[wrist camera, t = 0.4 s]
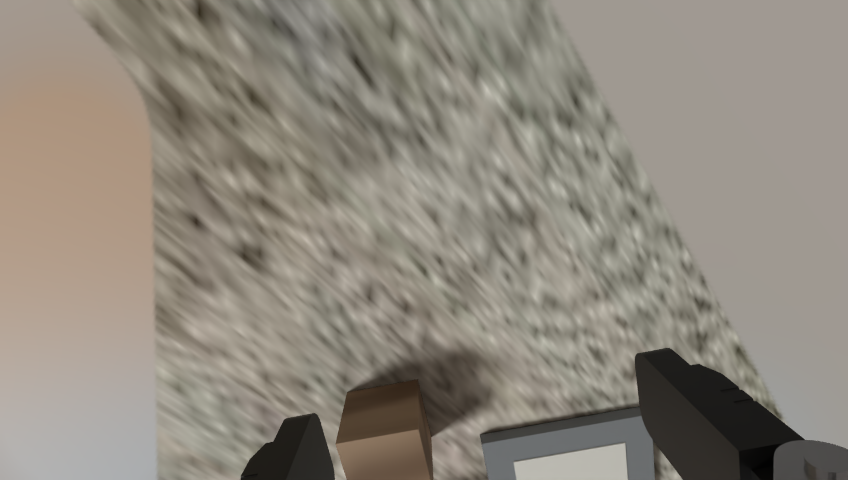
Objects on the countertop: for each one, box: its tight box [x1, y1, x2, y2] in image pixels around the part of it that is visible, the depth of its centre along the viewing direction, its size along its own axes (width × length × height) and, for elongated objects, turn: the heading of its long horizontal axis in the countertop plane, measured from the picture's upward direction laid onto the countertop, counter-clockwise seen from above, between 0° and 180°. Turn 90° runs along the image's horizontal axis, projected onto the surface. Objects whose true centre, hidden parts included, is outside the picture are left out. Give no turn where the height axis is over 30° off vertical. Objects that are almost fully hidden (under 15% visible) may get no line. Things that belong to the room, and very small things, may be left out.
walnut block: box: [336, 379, 433, 480], centre depth 30 cm, size 5×5×5 cm
